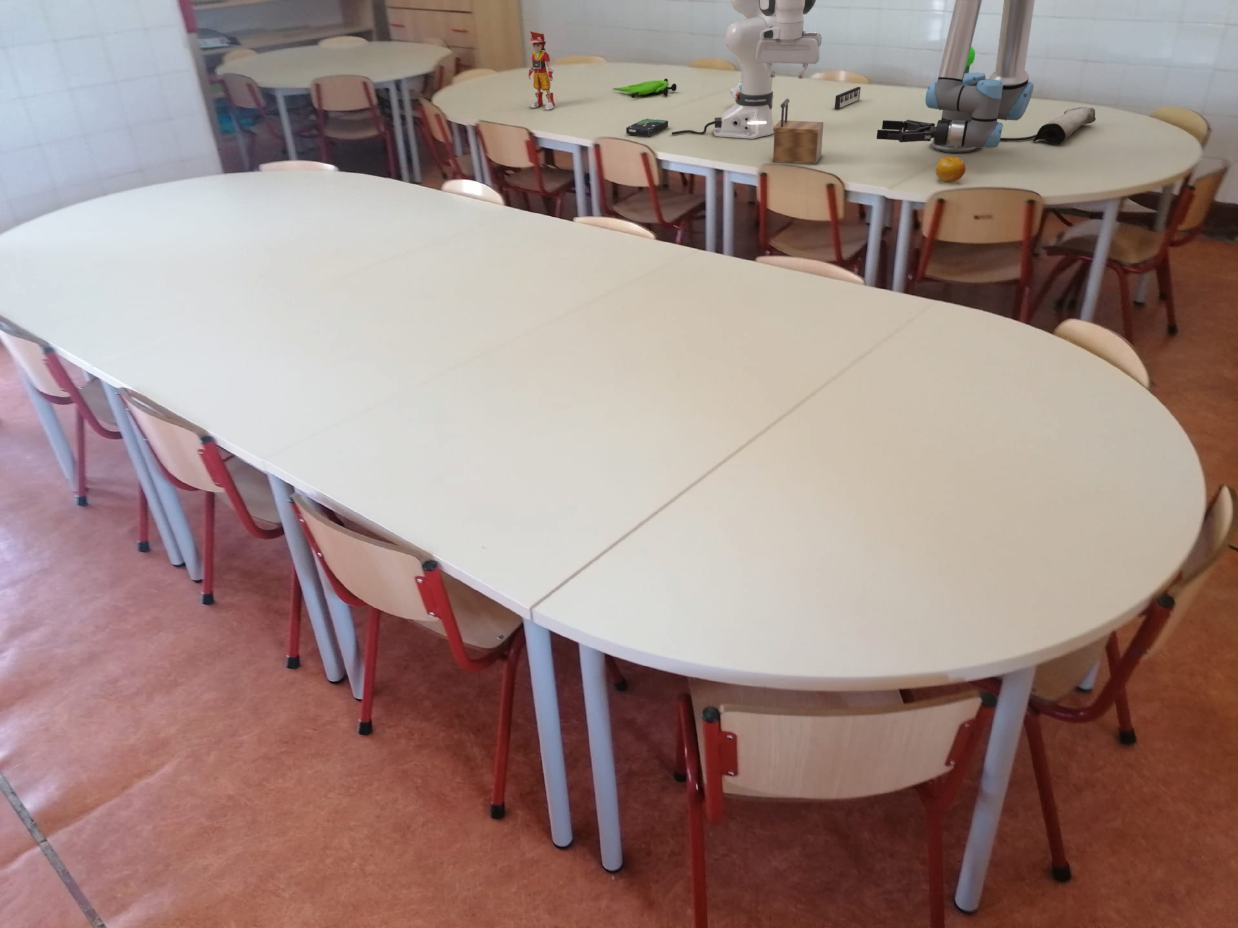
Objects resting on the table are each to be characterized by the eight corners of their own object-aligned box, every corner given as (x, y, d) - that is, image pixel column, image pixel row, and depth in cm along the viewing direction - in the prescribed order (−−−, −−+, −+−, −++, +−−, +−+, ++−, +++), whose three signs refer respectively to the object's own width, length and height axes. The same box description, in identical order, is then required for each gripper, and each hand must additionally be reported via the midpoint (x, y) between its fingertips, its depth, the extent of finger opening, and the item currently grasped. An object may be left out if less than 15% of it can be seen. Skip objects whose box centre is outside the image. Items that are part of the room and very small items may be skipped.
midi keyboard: (837, 109, 355) (838, 96, 352) (834, 109, 355) (835, 95, 352) (859, 100, 365) (860, 87, 362) (856, 99, 366) (858, 86, 363)
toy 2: (686, 85, 398) (631, 84, 414) (685, 72, 395) (629, 72, 411) (651, 104, 381) (596, 103, 397) (650, 92, 378) (594, 91, 394)
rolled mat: (1061, 112, 323) (1087, 94, 314) (1075, 133, 323) (1101, 116, 315) (1028, 135, 305) (1054, 117, 297) (1043, 158, 306) (1070, 140, 298)
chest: (772, 162, 303) (774, 132, 297) (779, 154, 310) (780, 124, 304) (815, 164, 298) (817, 133, 292) (821, 156, 305) (823, 126, 300)
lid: (773, 131, 297) (774, 104, 292) (779, 124, 304) (780, 97, 300) (817, 133, 292) (819, 106, 288) (823, 126, 300) (825, 98, 295)
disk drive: (649, 138, 335) (668, 127, 345) (649, 130, 333) (668, 120, 343) (625, 135, 340) (645, 125, 350) (625, 127, 338) (645, 117, 348)
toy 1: (525, 109, 381) (517, 32, 364) (534, 104, 388) (527, 28, 371) (550, 110, 377) (543, 32, 360) (559, 105, 384) (553, 28, 367)
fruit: (930, 172, 274) (947, 148, 271) (931, 174, 281) (947, 151, 278) (953, 187, 272) (970, 164, 269) (953, 189, 280) (970, 166, 277)
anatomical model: (726, 82, 366) (750, 75, 366) (730, 107, 372) (754, 101, 372) (732, 90, 354) (757, 83, 353) (737, 117, 360) (761, 110, 359)
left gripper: (823, 30, 282) (820, 76, 290) (760, 29, 289) (758, 75, 297) (820, 33, 277) (816, 81, 285) (755, 33, 284) (753, 79, 292)
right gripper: (943, 155, 274) (873, 151, 281) (949, 136, 294) (883, 132, 301) (948, 129, 270) (876, 126, 277) (953, 112, 290) (886, 109, 296)
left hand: (786, 78), depth 291 cm, fingers open, 8 cm apart
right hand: (879, 129), depth 289 cm, fingers open, 13 cm apart
